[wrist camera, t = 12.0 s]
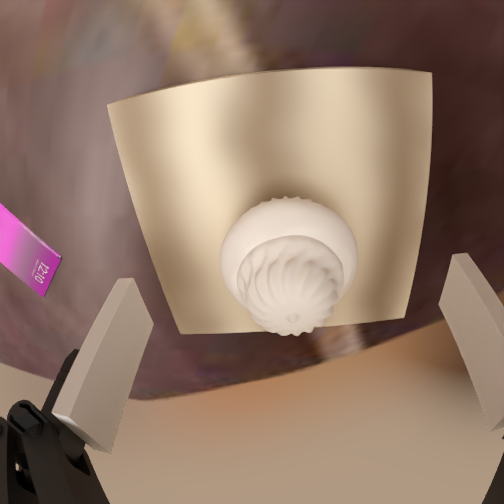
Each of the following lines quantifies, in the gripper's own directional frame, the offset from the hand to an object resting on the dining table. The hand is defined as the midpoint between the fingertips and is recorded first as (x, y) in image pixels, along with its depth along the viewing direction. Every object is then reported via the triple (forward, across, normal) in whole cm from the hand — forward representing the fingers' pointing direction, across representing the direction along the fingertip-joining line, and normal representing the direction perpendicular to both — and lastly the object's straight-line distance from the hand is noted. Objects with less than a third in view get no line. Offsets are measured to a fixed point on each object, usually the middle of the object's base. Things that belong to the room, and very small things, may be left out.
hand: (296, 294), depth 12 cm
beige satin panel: (+9, 0, 0) cm, 10 cm away
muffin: (+6, 0, 0) cm, 6 cm away
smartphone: (+10, +27, 0) cm, 28 cm away
